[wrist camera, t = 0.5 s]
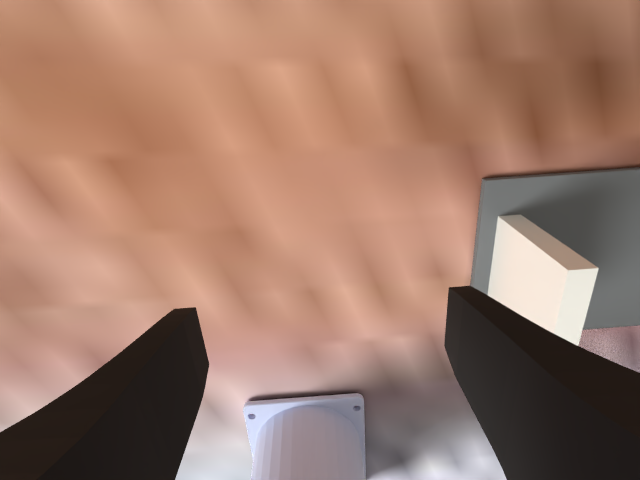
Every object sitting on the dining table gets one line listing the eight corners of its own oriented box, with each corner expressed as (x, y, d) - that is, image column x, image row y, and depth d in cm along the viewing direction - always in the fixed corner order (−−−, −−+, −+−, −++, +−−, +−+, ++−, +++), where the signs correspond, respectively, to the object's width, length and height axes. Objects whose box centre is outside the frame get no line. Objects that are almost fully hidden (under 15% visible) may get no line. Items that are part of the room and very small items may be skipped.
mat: (670, 318, 24) (676, 322, 24) (464, 334, 24) (467, 338, 24) (730, 160, 20) (737, 162, 20) (482, 178, 20) (485, 180, 20)
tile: (508, 308, 23) (571, 384, 18) (485, 310, 23) (541, 386, 17) (523, 214, 20) (602, 267, 15) (498, 216, 20) (568, 270, 15)
